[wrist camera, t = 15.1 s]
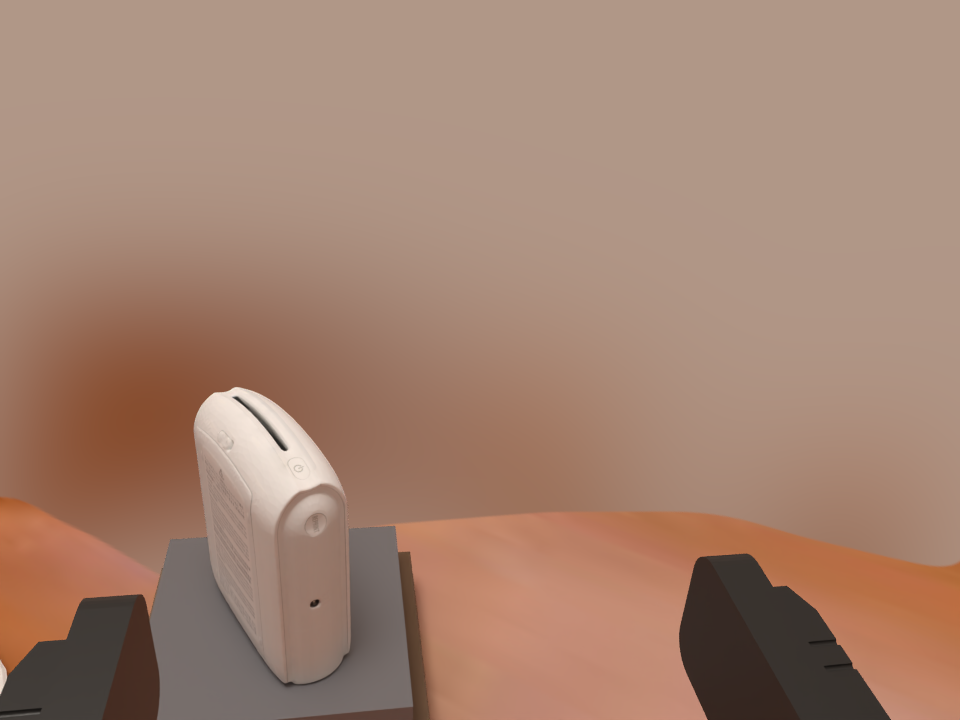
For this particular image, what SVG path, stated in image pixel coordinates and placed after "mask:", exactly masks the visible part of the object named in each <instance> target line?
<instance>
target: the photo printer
mask: <svg viewBox="0 0 960 720" xmlns="http://www.w3.org/2000/svg"><path fill="white" fill-rule="evenodd" d="M194 437H195V444H196V452H197V459H198V467H199V475H200V482H201V490H202V498H203V506H204V513H205V521H206V529H207V537H208V545H209V553H210V561H211V566H212V570H213V574H214V577H215V579H216V582H217V584H218V587H219V588H220V590H221V592H222V594H223V596H224V598H225V600H226V601H227V603H228V604H229V606H230V608H231V609H232V611H233V613H234V614H235V616H236V618H237V619H238V621H239V622H240V624H241V626H242V627H243V629H244V630H245V632H246V633H247V635H248V637H249V638H250V640H251V641H252V643H253V644H254V646H255V647H256V649H257V651H258V652H259V654H260V655H261V656H262V658H263V659H264V661H265V662H266V664H267V665H268V666H269V668H270V669H271V670H272V672H273V673H274V674H275V675H276V676H277V677H278V678H279V679H280V680H281V681H282V682H284V683H288V682H293V683H294V684H307V683H311V682H315V681H318V680H320V679H323V678H324V677H326V676H328V675H329V674H331V673H332V672H333V671H334V670H335V669H336V668H337V667H338V666H339V665H340V663H341V662H342V659H343V656H344V655H345V654H347V653H349V650H350V642H351V616H350V567H349V528H348V504H347V499H346V496H345V493H344V491H343V488H342V485H341V483H340V481H339V479H338V477H337V475H336V473H335V472H334V470H333V469H332V467H331V465H330V464H329V462H328V461H327V459H326V458H325V456H324V455H323V453H322V452H321V451H320V449H319V448H318V447H317V445H316V444H315V443H314V442H313V440H312V439H311V438H310V437H309V436H308V435H307V433H306V432H305V431H304V430H303V429H302V428H301V427H300V425H299V424H298V423H297V422H296V421H295V420H294V419H293V418H292V417H291V416H290V415H289V414H287V413H286V412H285V411H284V410H283V409H282V408H280V407H279V406H278V405H277V404H275V403H274V402H273V401H271V400H269V399H268V398H266V397H264V396H262V395H261V394H259V393H256V392H254V391H251V390H247V389H243V388H239V387H235V388H233V389H231V390H229V391H227V392H221V393H220V392H219V393H214V394H212V395H211V396H210V397H208V399H206V401H205V402H204V403H203V404H202V406H201V408H200V409H199V411H198V413H197V416H196V419H195V423H194Z"/></svg>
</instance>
